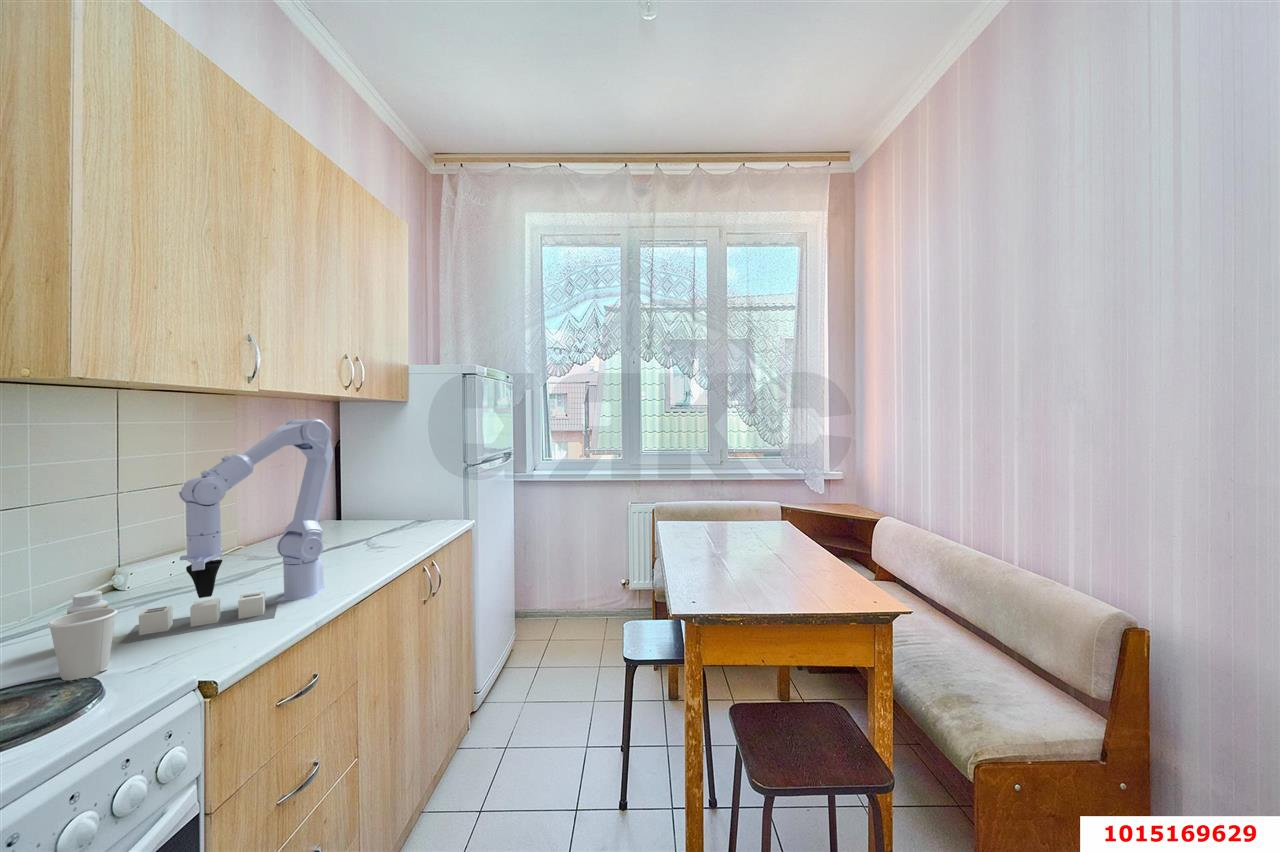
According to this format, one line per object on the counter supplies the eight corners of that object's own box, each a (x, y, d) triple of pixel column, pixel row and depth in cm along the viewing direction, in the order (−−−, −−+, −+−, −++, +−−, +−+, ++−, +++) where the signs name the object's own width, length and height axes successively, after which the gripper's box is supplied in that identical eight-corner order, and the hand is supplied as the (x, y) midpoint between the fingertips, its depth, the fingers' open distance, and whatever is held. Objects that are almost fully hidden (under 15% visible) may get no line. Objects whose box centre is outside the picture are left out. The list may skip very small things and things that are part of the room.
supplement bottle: (63, 654, 101) (61, 600, 101) (73, 644, 106) (71, 592, 106) (104, 647, 104) (103, 594, 104) (112, 637, 109) (110, 587, 109)
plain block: (194, 620, 116) (194, 601, 116) (220, 616, 118) (220, 598, 118) (190, 626, 112) (190, 607, 112) (217, 622, 114) (216, 603, 114)
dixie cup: (91, 662, 97) (90, 607, 97) (132, 663, 96) (130, 608, 96) (34, 684, 89) (32, 624, 89) (78, 686, 88) (76, 625, 88)
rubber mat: (278, 605, 127) (277, 602, 127) (274, 620, 116) (274, 617, 116) (136, 627, 114) (136, 625, 114) (118, 647, 104) (118, 644, 104)
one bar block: (241, 613, 120) (240, 594, 120) (265, 609, 122) (264, 591, 122) (238, 618, 116) (238, 600, 116) (263, 614, 119) (262, 596, 119)
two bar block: (145, 628, 112) (144, 608, 112) (172, 623, 114) (172, 604, 114) (139, 635, 108) (138, 614, 108) (167, 630, 110) (167, 610, 110)
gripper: (186, 530, 119) (188, 591, 119) (171, 541, 107) (173, 609, 107) (226, 526, 123) (228, 585, 123) (216, 537, 110) (218, 603, 111)
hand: (205, 596), depth 115 cm, fingers closed
